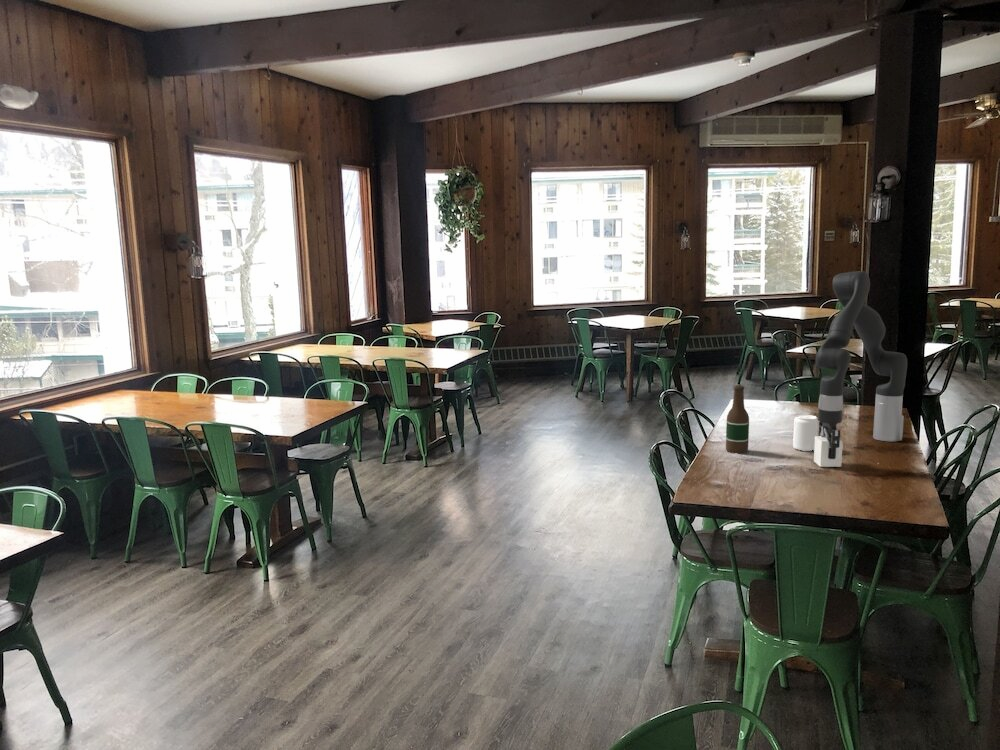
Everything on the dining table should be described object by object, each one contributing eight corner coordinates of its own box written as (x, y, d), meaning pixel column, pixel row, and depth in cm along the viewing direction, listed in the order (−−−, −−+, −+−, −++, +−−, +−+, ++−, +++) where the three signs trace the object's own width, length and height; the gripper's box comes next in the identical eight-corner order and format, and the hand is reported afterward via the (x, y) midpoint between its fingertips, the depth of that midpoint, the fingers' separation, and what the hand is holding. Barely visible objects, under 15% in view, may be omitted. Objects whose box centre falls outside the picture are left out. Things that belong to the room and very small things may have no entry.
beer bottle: (748, 449, 295) (750, 384, 291) (747, 454, 288) (750, 388, 284) (726, 447, 297) (728, 383, 293) (724, 453, 290) (727, 387, 286)
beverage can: (818, 452, 289) (820, 419, 287) (794, 451, 291) (796, 418, 289) (814, 446, 297) (816, 414, 295) (791, 445, 299) (792, 414, 297)
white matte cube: (834, 461, 276) (835, 436, 275) (841, 466, 270) (842, 441, 268) (813, 461, 277) (814, 436, 275) (820, 466, 270) (821, 441, 269)
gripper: (849, 412, 263) (847, 461, 265) (834, 403, 277) (831, 450, 280) (826, 412, 263) (823, 461, 266) (812, 403, 277) (809, 450, 280)
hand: (827, 455), depth 273 cm, fingers closed on white matte cube, 6 cm apart
